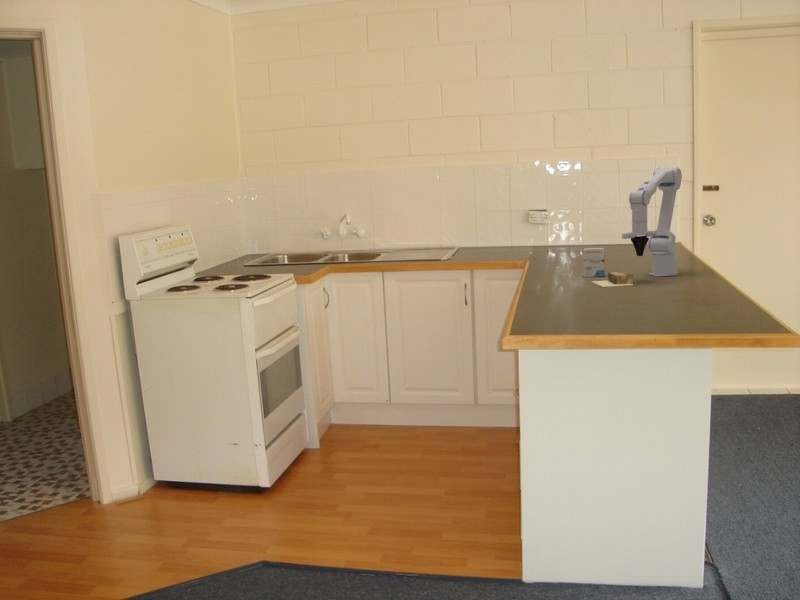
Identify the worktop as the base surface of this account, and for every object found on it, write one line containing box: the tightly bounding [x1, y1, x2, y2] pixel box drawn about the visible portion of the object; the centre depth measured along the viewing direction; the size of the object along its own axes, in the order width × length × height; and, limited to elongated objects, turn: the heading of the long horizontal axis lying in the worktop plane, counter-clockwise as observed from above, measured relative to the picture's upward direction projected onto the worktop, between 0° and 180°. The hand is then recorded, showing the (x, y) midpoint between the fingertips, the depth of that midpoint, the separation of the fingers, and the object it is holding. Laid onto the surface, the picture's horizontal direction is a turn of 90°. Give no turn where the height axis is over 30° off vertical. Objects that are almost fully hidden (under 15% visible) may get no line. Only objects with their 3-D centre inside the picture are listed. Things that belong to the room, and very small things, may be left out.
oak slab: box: [607, 271, 634, 284], centre depth 302 cm, size 4×8×7 cm
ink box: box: [583, 247, 606, 278], centre depth 324 cm, size 8×5×12 cm, turn 74°
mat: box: [590, 279, 634, 289], centre depth 302 cm, size 12×14×1 cm
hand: (639, 255), depth 302 cm, fingers closed
